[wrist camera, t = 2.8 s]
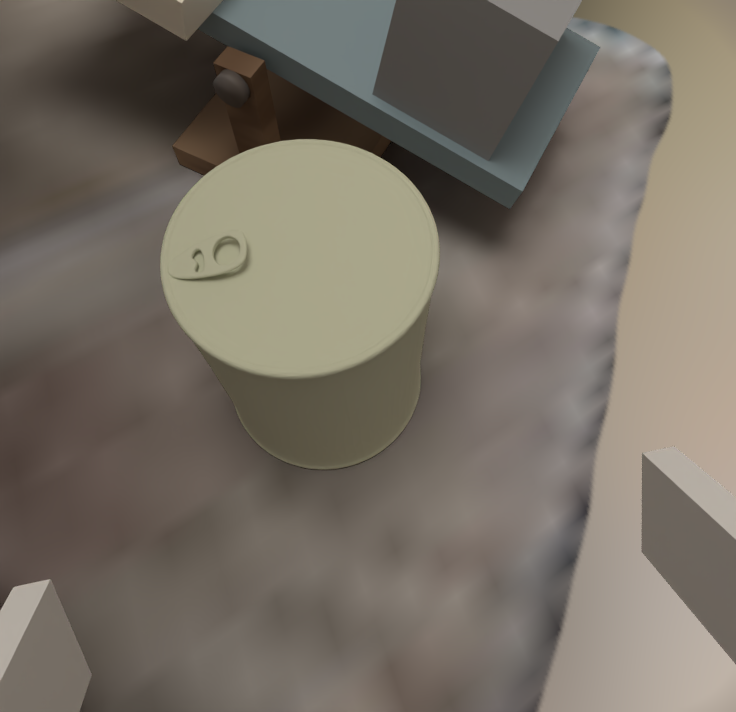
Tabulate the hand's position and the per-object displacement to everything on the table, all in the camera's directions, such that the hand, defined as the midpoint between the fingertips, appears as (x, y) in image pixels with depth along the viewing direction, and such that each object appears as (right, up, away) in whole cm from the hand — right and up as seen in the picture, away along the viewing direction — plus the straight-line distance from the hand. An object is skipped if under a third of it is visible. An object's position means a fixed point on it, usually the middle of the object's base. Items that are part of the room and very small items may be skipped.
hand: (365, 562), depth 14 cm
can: (-2, +3, +17) cm, 18 cm away
